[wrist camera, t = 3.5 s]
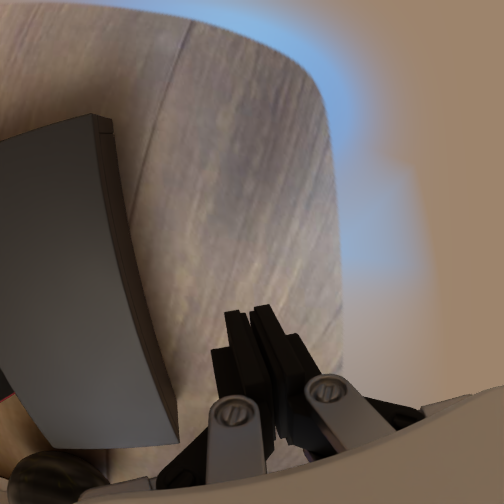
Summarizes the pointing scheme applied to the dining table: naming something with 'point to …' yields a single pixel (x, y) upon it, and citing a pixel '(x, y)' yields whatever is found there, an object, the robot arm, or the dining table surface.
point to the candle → (3, 491)
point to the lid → (77, 294)
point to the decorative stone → (52, 479)
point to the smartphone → (5, 387)
